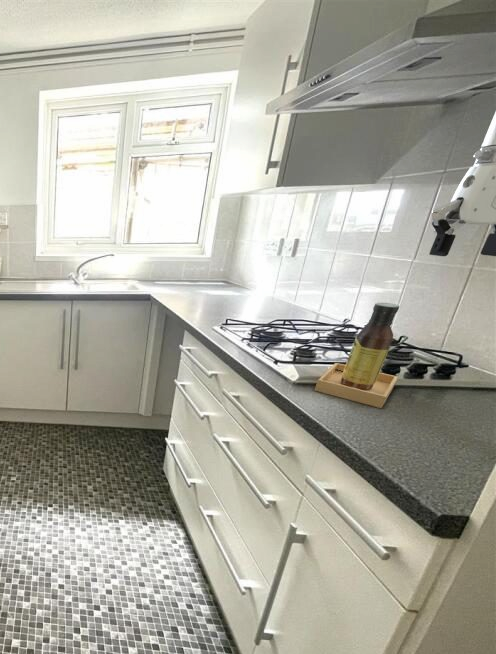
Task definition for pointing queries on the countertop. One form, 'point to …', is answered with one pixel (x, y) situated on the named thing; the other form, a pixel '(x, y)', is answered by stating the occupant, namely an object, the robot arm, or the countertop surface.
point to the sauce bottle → (370, 348)
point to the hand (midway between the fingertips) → (463, 255)
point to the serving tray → (373, 397)
